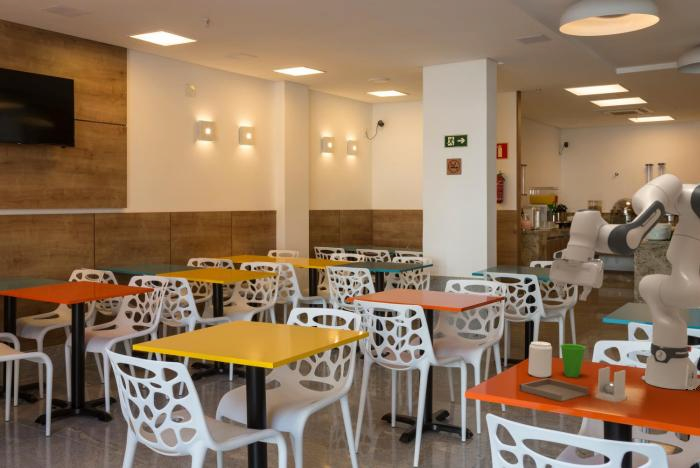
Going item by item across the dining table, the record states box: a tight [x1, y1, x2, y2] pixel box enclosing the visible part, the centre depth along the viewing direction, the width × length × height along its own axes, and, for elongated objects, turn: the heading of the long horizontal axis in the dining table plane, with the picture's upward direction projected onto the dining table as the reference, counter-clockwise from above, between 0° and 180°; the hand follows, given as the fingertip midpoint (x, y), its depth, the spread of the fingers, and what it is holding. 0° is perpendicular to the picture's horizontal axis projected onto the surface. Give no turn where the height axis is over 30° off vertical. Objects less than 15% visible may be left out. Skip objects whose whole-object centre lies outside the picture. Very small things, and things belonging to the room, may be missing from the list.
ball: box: [604, 381, 614, 395], centre depth 223 cm, size 4×4×4 cm
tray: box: [518, 377, 590, 402], centre depth 228 cm, size 16×16×2 cm
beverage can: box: [528, 340, 553, 379], centre depth 251 cm, size 8×8×12 cm
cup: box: [560, 343, 587, 378], centre depth 252 cm, size 9×9×11 cm
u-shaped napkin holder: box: [595, 366, 628, 403], centre depth 223 cm, size 7×7×10 cm
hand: (571, 298), depth 222 cm, fingers open, 8 cm apart
